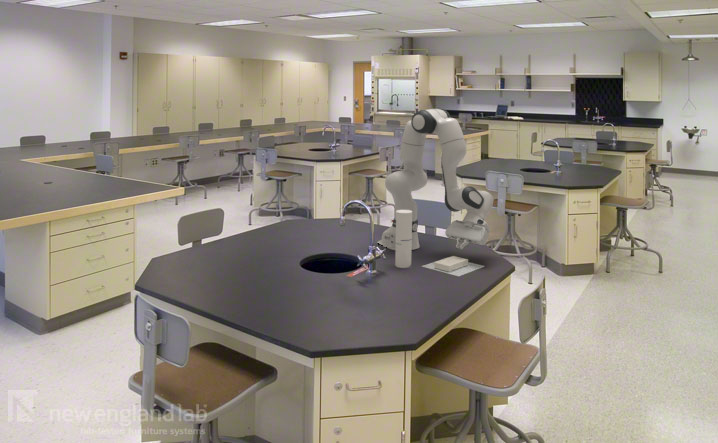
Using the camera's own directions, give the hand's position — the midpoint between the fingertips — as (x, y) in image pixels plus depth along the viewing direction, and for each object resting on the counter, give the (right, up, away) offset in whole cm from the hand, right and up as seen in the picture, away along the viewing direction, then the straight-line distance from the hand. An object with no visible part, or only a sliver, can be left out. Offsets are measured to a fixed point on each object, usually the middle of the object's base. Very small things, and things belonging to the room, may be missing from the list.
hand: (458, 248), depth 251 cm
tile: (+1, -6, +2) cm, 6 cm away
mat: (-3, -9, -1) cm, 9 cm away
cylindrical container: (-25, -8, +3) cm, 26 cm away
